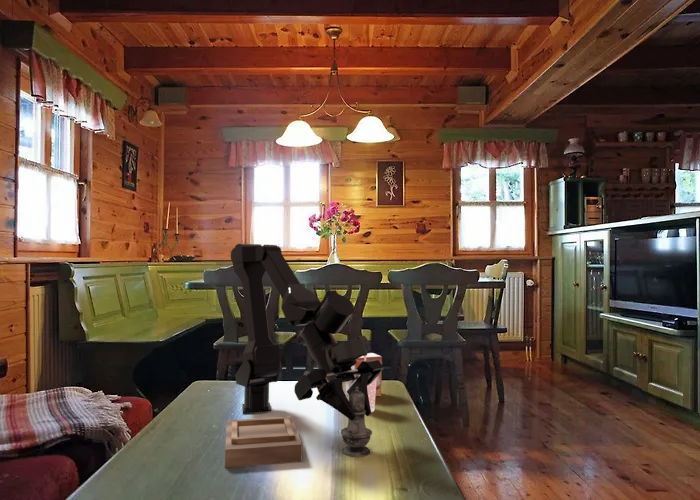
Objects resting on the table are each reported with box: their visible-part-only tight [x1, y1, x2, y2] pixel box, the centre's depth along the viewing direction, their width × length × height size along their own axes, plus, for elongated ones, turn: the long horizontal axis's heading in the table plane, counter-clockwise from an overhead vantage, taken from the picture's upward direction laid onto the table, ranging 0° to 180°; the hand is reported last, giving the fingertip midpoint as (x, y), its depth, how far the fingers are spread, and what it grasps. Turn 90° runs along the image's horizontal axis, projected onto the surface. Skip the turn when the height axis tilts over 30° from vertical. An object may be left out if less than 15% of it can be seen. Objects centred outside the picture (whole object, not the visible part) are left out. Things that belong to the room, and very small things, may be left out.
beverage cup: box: [364, 356, 377, 413], centre depth 120 cm, size 6×6×14 cm
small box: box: [345, 352, 383, 398], centre depth 133 cm, size 8×6×10 cm
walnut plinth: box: [224, 416, 303, 469], centre depth 95 cm, size 16×13×4 cm
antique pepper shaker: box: [340, 386, 373, 458], centre depth 93 cm, size 6×6×12 cm
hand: (361, 417), depth 92 cm, fingers closed on antique pepper shaker, 4 cm apart
